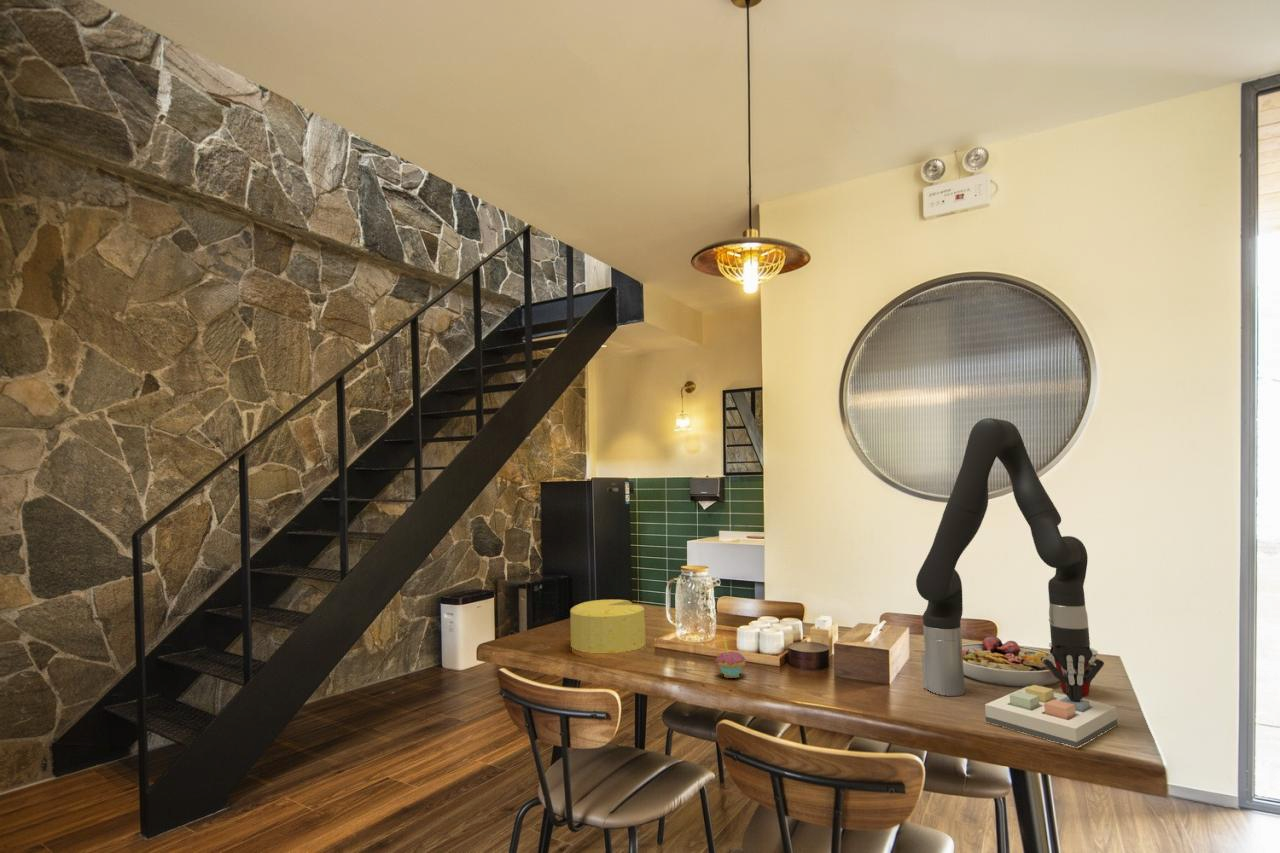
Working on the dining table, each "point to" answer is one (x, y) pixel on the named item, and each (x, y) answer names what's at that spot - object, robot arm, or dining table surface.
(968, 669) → the bowl
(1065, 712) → the key terracotta
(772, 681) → the dining table surface
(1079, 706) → the key slate
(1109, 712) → the keypad board
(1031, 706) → the key sage
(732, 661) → the cupcake
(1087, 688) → the plastic cup
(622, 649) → the cheese
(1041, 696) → the key mustard
